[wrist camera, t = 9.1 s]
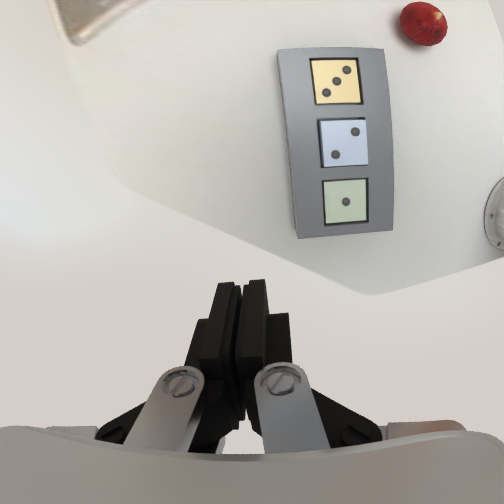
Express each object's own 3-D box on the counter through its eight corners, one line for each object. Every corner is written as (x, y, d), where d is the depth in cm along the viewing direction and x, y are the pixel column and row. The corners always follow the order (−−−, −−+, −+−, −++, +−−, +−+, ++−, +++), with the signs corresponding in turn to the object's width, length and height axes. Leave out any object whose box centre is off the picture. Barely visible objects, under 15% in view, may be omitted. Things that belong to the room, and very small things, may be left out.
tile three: (351, 62, 30) (356, 59, 28) (355, 102, 32) (360, 102, 30) (309, 63, 31) (311, 60, 29) (314, 104, 33) (317, 103, 31)
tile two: (360, 119, 32) (366, 119, 30) (363, 161, 34) (368, 164, 32) (317, 121, 33) (321, 121, 31) (321, 164, 35) (324, 167, 33)
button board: (373, 53, 31) (383, 48, 27) (383, 220, 40) (392, 230, 36) (276, 55, 32) (277, 49, 28) (295, 228, 41) (297, 238, 37)
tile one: (360, 176, 36) (365, 179, 34) (361, 214, 38) (366, 220, 36) (320, 178, 37) (324, 182, 35) (323, 218, 39) (326, 223, 37)
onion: (432, 52, 29) (464, 44, 22) (394, 46, 30) (421, 34, 23) (427, 14, 27) (456, -1, 20) (388, 7, 27) (413, -12, 20)
